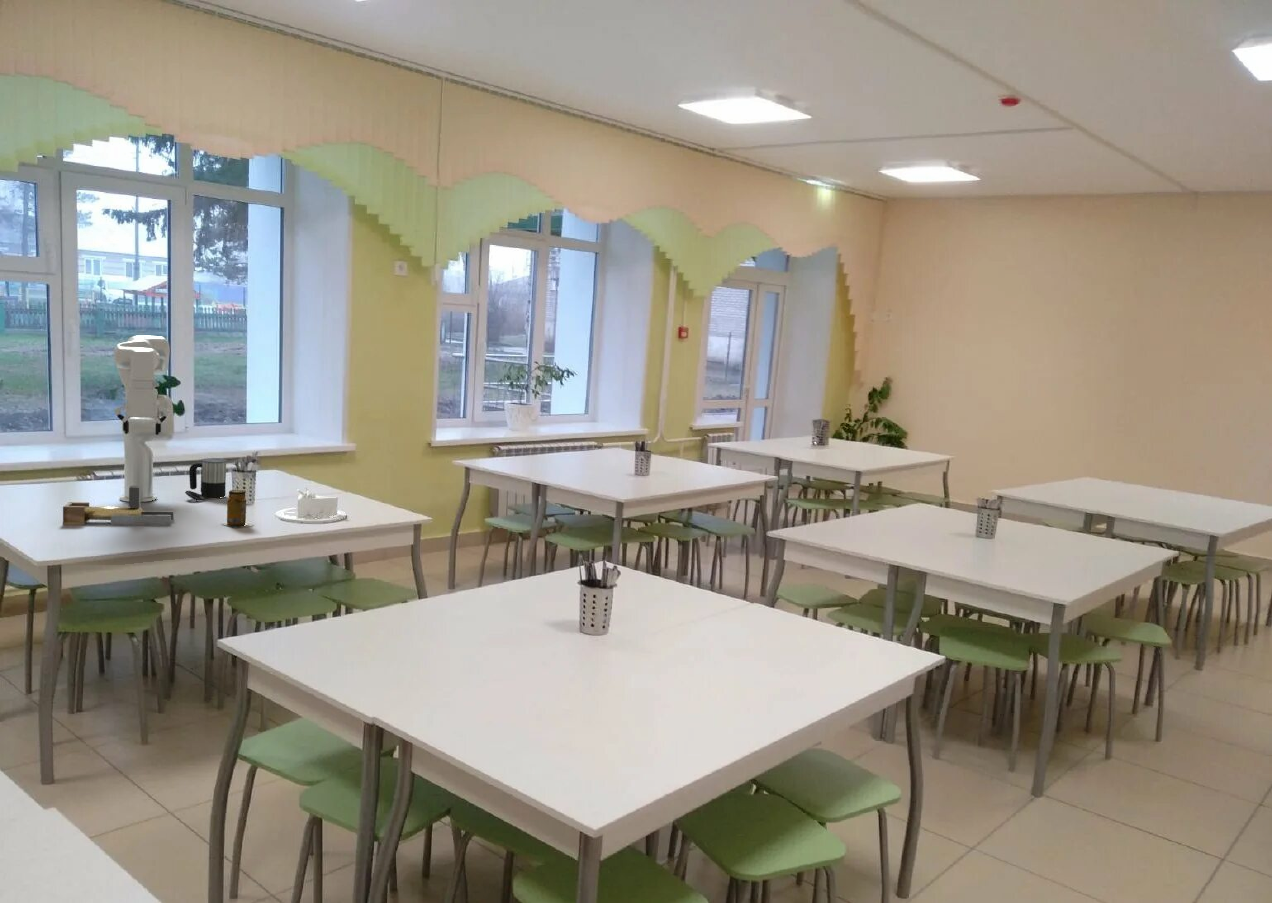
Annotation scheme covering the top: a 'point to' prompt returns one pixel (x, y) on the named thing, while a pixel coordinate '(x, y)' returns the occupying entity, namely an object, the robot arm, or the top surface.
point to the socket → (74, 513)
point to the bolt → (106, 512)
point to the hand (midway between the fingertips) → (142, 433)
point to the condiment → (236, 509)
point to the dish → (312, 509)
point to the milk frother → (208, 478)
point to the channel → (144, 518)
